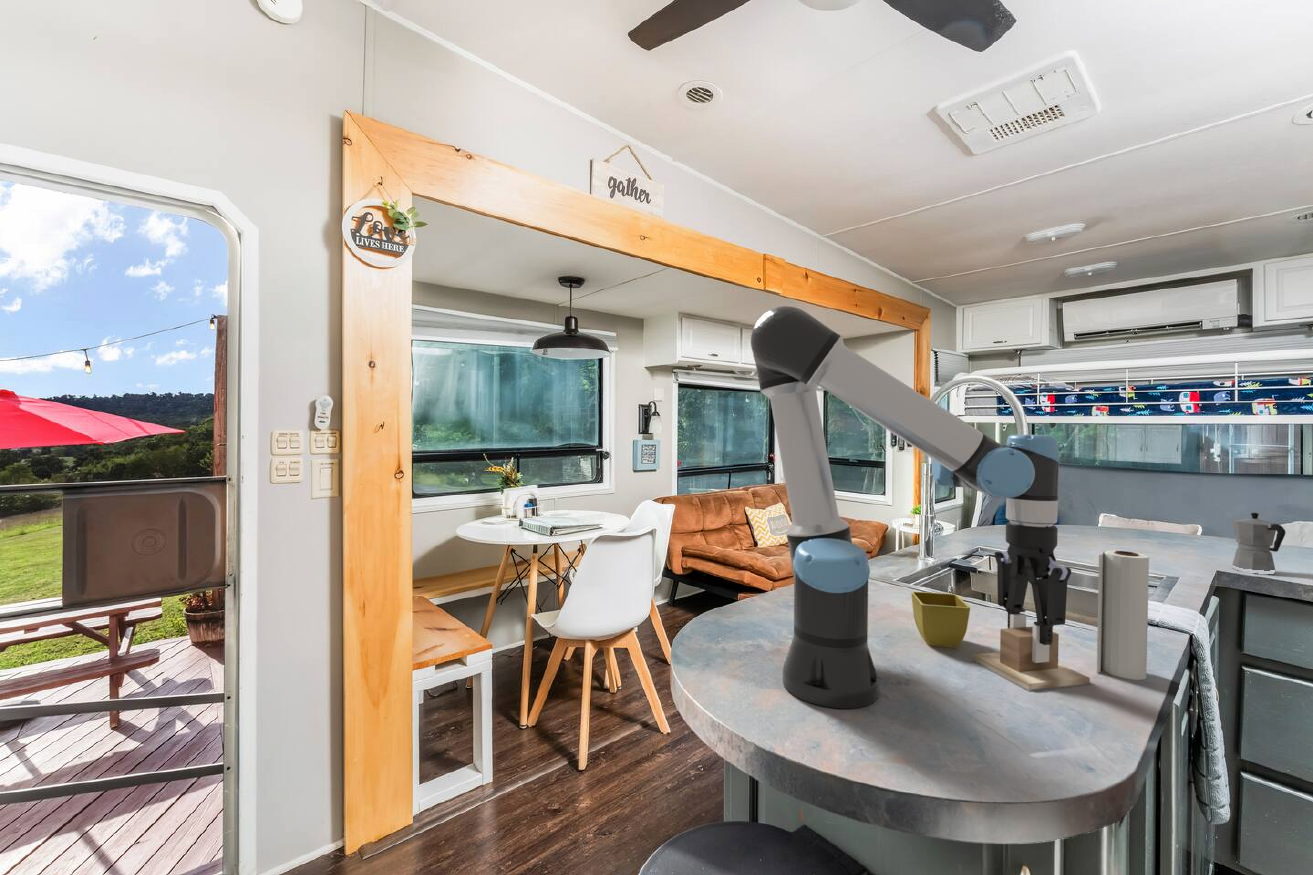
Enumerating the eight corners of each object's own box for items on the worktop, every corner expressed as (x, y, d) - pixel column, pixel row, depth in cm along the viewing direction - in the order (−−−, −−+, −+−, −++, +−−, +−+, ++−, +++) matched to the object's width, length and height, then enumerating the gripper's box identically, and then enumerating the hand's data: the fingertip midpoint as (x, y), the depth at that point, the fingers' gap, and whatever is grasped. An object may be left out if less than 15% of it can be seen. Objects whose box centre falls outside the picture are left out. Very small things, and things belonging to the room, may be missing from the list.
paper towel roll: (1142, 671, 99) (1144, 551, 99) (1150, 685, 94) (1153, 558, 93) (1091, 662, 103) (1093, 546, 102) (1096, 675, 97) (1099, 553, 97)
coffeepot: (1217, 565, 178) (1218, 509, 178) (1249, 566, 177) (1250, 509, 177) (1265, 578, 163) (1267, 516, 162) (1300, 579, 162) (1302, 517, 162)
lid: (1028, 689, 91) (1029, 647, 91) (973, 659, 103) (973, 621, 102) (1089, 683, 93) (1090, 641, 93) (1028, 654, 105) (1028, 617, 105)
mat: (1028, 694, 90) (1029, 691, 90) (968, 661, 103) (968, 658, 103) (1094, 687, 93) (1094, 684, 93) (1028, 655, 106) (1028, 653, 106)
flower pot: (970, 654, 106) (971, 607, 106) (921, 650, 108) (921, 604, 108) (955, 637, 115) (956, 593, 115) (910, 633, 117) (910, 591, 116)
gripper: (1096, 531, 90) (1093, 675, 90) (1009, 514, 107) (1007, 636, 107) (1057, 532, 88) (1054, 679, 89) (975, 515, 105) (973, 639, 106)
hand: (1028, 655), depth 98 cm, fingers closed on lid, 4 cm apart
